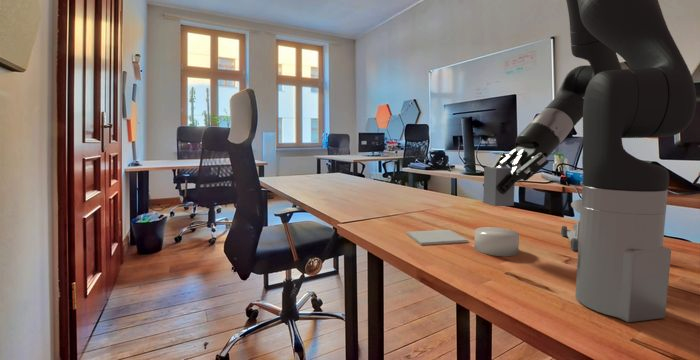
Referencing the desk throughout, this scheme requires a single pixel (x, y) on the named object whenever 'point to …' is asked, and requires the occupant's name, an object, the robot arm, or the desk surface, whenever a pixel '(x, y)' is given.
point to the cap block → (490, 183)
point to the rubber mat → (436, 237)
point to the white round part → (496, 241)
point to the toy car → (570, 233)
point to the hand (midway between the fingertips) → (492, 189)
